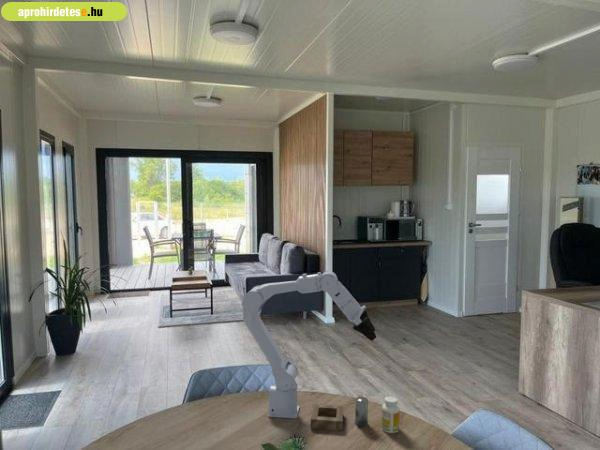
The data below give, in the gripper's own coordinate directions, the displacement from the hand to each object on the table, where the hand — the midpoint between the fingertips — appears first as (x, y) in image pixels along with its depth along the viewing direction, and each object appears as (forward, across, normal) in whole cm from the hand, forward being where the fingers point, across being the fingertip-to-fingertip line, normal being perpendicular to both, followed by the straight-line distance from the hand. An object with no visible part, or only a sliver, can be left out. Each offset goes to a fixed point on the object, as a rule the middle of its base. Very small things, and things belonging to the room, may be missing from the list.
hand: (373, 335), depth 139 cm
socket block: (+12, -3, +29) cm, 32 cm away
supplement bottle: (+25, -5, +14) cm, 29 cm away
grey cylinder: (+19, -3, +21) cm, 29 cm away
